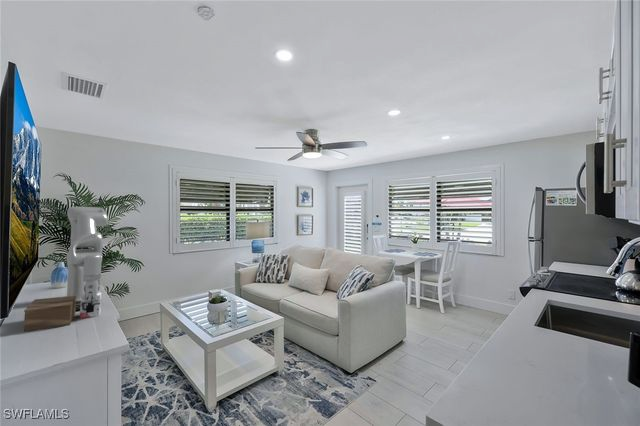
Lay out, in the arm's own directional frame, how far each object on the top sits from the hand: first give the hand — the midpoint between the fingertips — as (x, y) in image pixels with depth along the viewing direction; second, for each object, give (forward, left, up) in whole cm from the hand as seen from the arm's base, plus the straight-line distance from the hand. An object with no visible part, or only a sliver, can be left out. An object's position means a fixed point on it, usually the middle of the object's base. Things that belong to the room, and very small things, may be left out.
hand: (90, 310), depth 151 cm
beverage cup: (-16, -1, -3) cm, 16 cm away
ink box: (0, 0, -3) cm, 3 cm away
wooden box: (+2, -15, -3) cm, 15 cm away
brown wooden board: (+2, -15, +6) cm, 16 cm away
